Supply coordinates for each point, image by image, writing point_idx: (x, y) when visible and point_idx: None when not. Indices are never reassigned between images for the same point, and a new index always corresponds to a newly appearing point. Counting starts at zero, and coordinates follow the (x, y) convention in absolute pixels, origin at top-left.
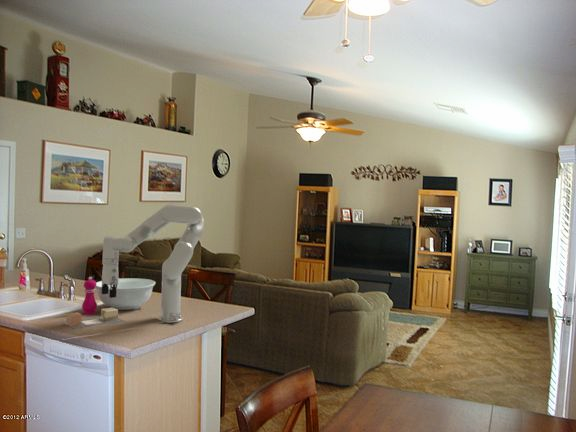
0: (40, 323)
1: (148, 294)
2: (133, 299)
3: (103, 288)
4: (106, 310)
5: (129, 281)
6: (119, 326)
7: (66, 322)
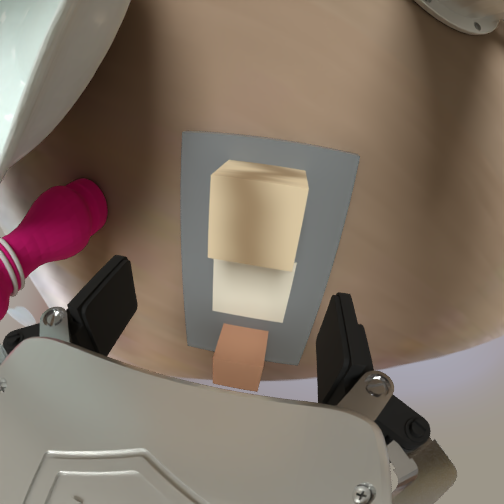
0: (147, 359)
1: None
2: None
3: (110, 339)
4: (265, 255)
5: None
6: (391, 217)
7: (197, 341)
